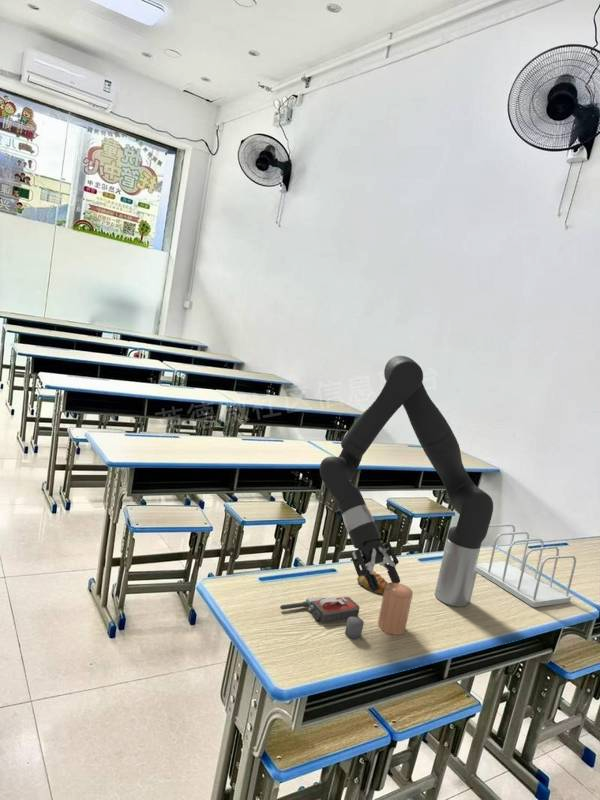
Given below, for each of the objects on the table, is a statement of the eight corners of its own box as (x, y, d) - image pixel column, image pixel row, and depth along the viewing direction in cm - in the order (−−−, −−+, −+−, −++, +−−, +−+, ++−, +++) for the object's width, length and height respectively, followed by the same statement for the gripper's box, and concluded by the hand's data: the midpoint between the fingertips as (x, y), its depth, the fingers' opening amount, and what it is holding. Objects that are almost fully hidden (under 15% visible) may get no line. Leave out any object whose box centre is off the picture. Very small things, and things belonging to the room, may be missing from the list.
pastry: (394, 592, 154) (396, 579, 153) (380, 598, 149) (383, 585, 148) (367, 577, 160) (369, 565, 160) (353, 583, 155) (356, 570, 155)
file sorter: (570, 603, 167) (582, 555, 165) (533, 609, 159) (545, 559, 156) (505, 565, 189) (515, 523, 187) (469, 568, 180) (480, 524, 178)
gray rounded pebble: (355, 629, 130) (357, 615, 130) (363, 638, 127) (366, 624, 127) (341, 631, 129) (344, 617, 128) (350, 640, 125) (353, 626, 125)
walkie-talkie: (343, 601, 144) (277, 610, 134) (346, 585, 143) (280, 593, 133) (363, 619, 137) (295, 630, 126) (366, 602, 136) (298, 612, 126)
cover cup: (393, 618, 139) (401, 581, 138) (409, 632, 133) (418, 595, 132) (372, 620, 136) (380, 583, 134) (388, 635, 130) (396, 597, 129)
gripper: (352, 523, 135) (380, 588, 128) (387, 517, 145) (414, 576, 138) (333, 535, 139) (358, 598, 133) (368, 528, 149) (393, 586, 143)
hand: (387, 587), depth 136 cm, fingers open, 8 cm apart
